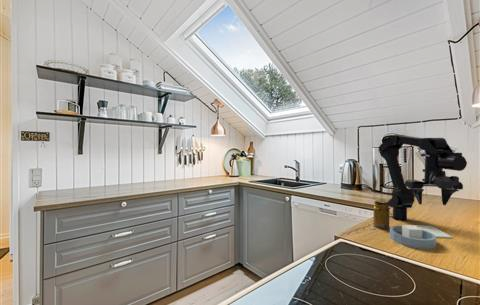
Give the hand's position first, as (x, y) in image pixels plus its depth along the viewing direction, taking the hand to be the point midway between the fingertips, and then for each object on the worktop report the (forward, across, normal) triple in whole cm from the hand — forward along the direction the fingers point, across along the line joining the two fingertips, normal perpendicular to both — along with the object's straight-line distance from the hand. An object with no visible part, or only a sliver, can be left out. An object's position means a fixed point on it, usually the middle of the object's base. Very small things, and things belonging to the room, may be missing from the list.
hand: (432, 204), depth 95 cm
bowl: (+12, -14, -11) cm, 21 cm away
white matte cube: (+11, -14, -11) cm, 21 cm away
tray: (+12, -2, -1) cm, 12 cm away
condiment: (+12, -18, +2) cm, 22 cm away
